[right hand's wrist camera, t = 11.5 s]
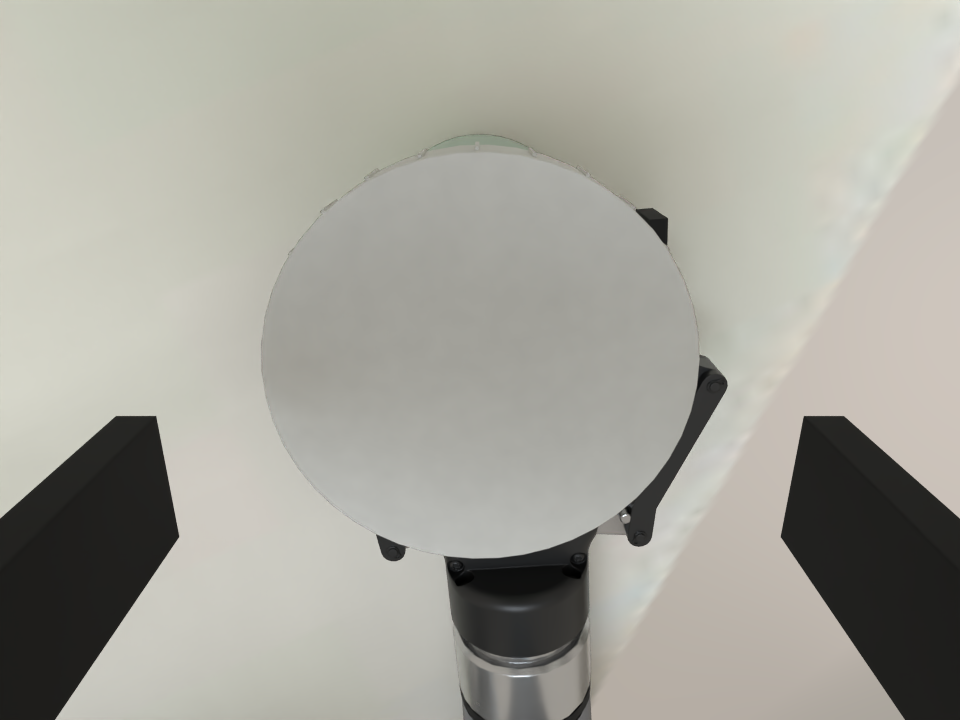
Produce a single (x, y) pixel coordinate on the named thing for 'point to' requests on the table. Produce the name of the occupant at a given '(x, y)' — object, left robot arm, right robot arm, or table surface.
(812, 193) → the table surface
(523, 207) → the lid
